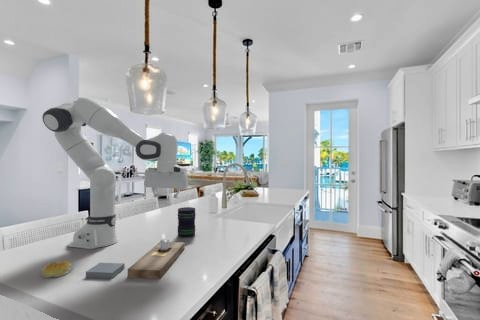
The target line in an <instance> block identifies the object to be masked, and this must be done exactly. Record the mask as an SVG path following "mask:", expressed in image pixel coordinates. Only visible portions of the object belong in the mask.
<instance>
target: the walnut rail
mask: <svg viewBox="0 0 480 320" xmlns="http://www.w3.org/2000/svg"><path fill="white" fill-rule="evenodd" d="M184 250H185V242H184V241H183V242H180V241H178V242H175V241H169V252H160V241H159V242H158V243H156V245H154V246H153V247H152V248H151V249H150V250H148V251H147V252H146V253H145V254H144V255H143V256H141V257H140V258H139V259H138V260H137V261H135V262H134V263H133V264H132V265H131V266H130V267H129V268H128V269H127V279H128V278H129V279H130V278H131V279H133V278H135V279H153V280H154V279H155V280H156V279H157V280H159V279H161V278H162V277H163V276H164V275H165V274H166V272H167V271H168V270H169V269H170V267H171V266H172V265H173V264H174V262H175V261H176V260H177V259H178V258H179V256H180V255H181V254H182V253H183V251H184Z"/></svg>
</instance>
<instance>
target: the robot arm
mask: <svg viewBox="0 0 480 320" xmlns="http://www.w3.org/2000/svg"><path fill="white" fill-rule="evenodd" d="M42 123H43V124H44V126H45V127H46V128H47V129H48V130H50V131H51V132H54V137H55V139H56V140H57V142H58V143H59V145H60V146H61V148H62V149H63V151H64V152H65V153H66V155H68V157H69V158H70V159H71V160H72V161H73V163H74V164H75V165H76V166H77V167H78V168H79V169H80V170H81V171H82V172H83V174H84V175H85V176H87V178H88V179H89V193H90V194H89V196H90V198H89V199H90V201H89V202H90V203H89V209H90V210H89V215H88V216H87V217H84V221H86V223H84V225H82V226H81V227H79V229H77V230H76V231H75V232H74V234H73V237H72V240H71V241H69V242H68V243H67V245H66V246H67V247H70V248H71V247H72V248H78V249H86V250H93V249H98V248H101V247H102V248H103V247H108V246H111V245H113V244H116V243H117V242H118V241H119V239H118V236H117V230H116V222H117V218H116V217H117V216H116V215H117V214H116V185H117V183H116V182H117V175H116V173H115V171H114V170H113V168H111V167H110V166H109V164H108V163H107V162H106V161H105V159H104V158H103V157H102V156H101V154H100V153H99V152H98V151H97V149H96V148H95V147H94V145H93V143H91V141H90V140H89V139H88V138H87V137H86V135H85V134H84V133H83V132H82V127H86V126H88V127H90V128H91V129H93V130H95V131H96V132H98V133H101V134H103V135H106V136H109V137H113V138H116V139H120V140H122V141H124V142H126V143H127V144H129V145H131V146H132V147H134V148H135V150H134V151H135V154H136V155H137V156H136V157H138V158H139V159H141V160H143V161H148V162H157V163H156V167H148V168H146V169H145V170H144V175H145V177H144V183H143V185H144V187H145V188H151V192H152V194H153V197H154V198H159V193H158V192H157V189H175V190H176V193H174V194H173V199H178V198H179V194H180V192H181V190H184V189H185V190H186V189H188V187H189V176H188V174H187V171H188V169H187V168H186V167H185V166H181V165H179V164H178V160H177V154H178V140H177V138H176V136H175V135H173V134H170V133H167V132H166V133H165V132H161V133H159V134H157V135H155V136H152V137H151V138H150V137H149V138H145V137H144V136H142V135H141V134H138V133H137V132H135V131H134V130H133V129H131V128H130V127H129V126H128V125H126V124H125V122H123V120H122V119H120V117H119V116H117V115H116V114H115V112H114V113H113V111H111V110H110V109H109V108H107V107H106V106H104V105H102V104H101V103H99V102H97V101H95V100H93V99H90V98H88V97H81V98H78V99H77V100H75V101H72V102H67V103H62V104H60V105H57V106H55V107H51V108H48V109H47V110H45V111H44V112H43V114H42Z"/></svg>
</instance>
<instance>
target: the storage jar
mask: <svg viewBox="0 0 480 320" xmlns="http://www.w3.org/2000/svg"><path fill="white" fill-rule="evenodd" d="M195 221H196V208H195V207H190V206H189V207H188V206H187V207H185V206H184V207H179V208H178V209H177V224H178V225H177V237H178V238H181V239H189V238H194V237H196V222H195Z"/></svg>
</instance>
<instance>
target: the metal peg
mask: <svg viewBox="0 0 480 320" xmlns="http://www.w3.org/2000/svg"><path fill="white" fill-rule="evenodd" d="M159 242H160V252H169V242H170V240H169V239H166V238H165V239H164V238H163V239H161V240H160V241H159Z"/></svg>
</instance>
